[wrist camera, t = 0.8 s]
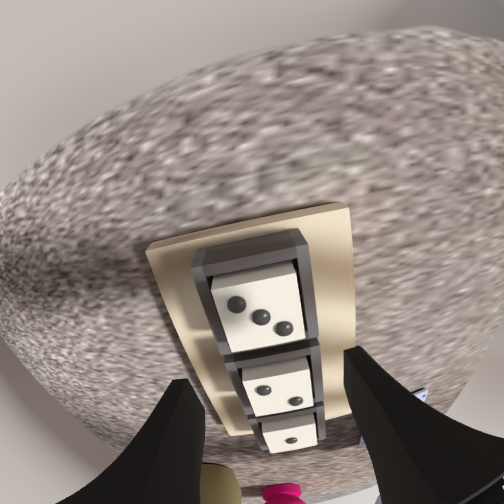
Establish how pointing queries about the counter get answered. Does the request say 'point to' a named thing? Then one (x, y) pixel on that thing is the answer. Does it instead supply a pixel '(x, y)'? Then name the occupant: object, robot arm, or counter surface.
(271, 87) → the counter surface
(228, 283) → the tile three
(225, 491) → the squeeze bottle
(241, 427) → the tile board
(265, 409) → the tile two
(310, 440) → the tile one
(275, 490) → the pepper mill
